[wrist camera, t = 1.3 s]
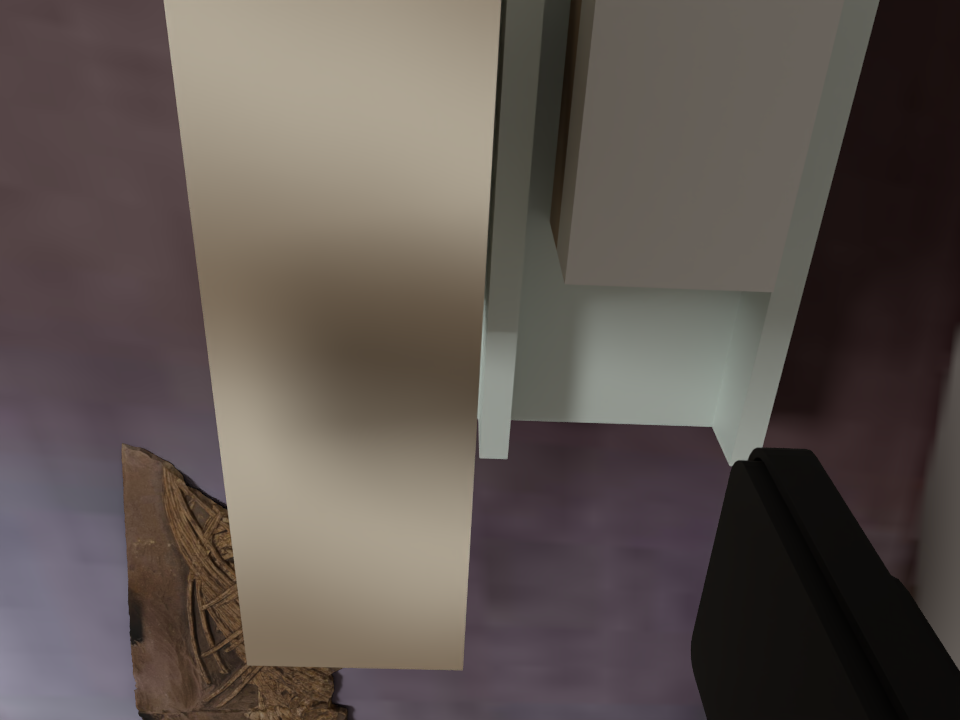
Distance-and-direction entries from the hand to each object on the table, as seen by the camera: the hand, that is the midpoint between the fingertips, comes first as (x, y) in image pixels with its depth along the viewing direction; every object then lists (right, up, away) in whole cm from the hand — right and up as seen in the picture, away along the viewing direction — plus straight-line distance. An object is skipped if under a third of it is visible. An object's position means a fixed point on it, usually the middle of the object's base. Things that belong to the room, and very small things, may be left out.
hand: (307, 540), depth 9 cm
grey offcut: (+7, +9, +15) cm, 19 cm away
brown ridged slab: (-10, -12, +31) cm, 35 cm away
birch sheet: (0, +10, +17) cm, 20 cm away
